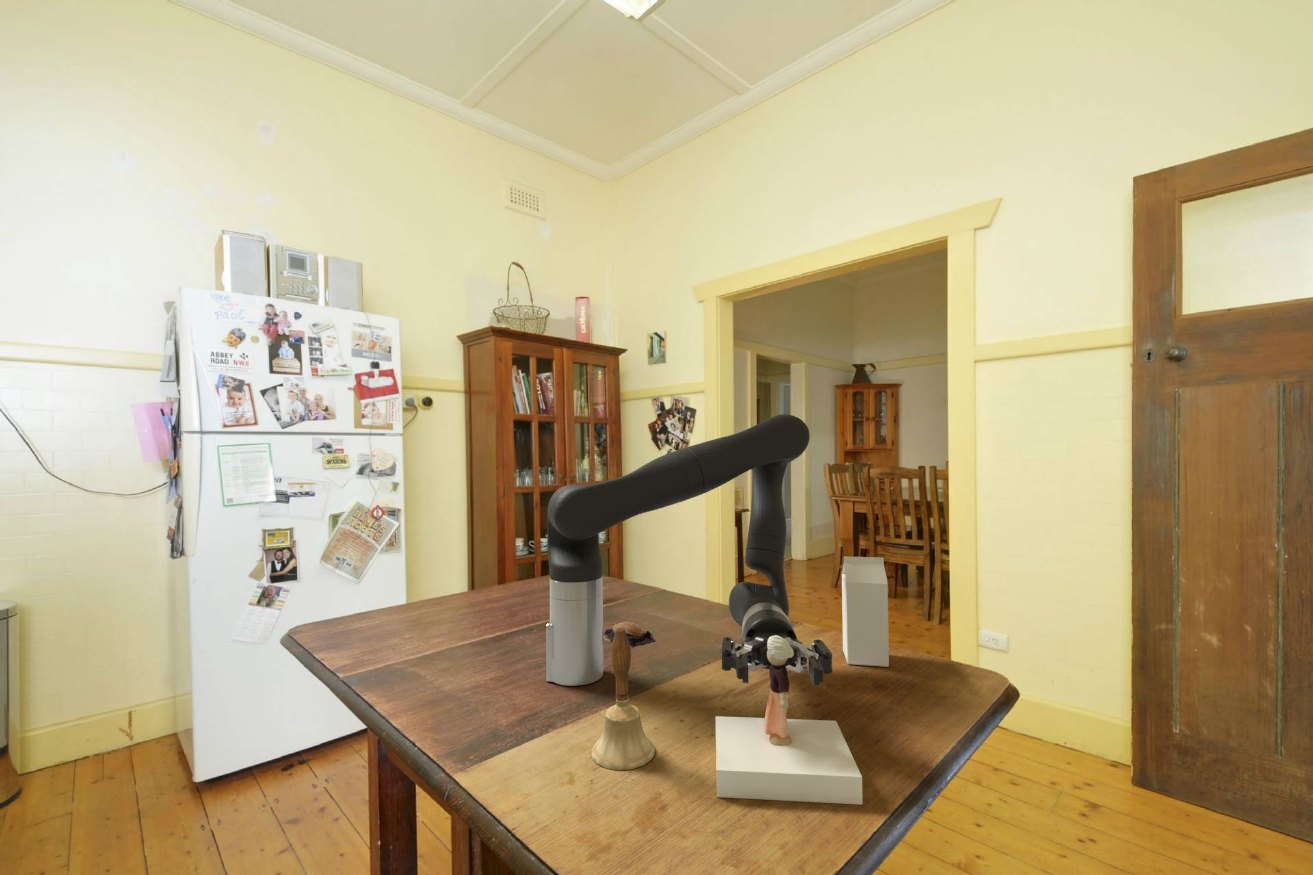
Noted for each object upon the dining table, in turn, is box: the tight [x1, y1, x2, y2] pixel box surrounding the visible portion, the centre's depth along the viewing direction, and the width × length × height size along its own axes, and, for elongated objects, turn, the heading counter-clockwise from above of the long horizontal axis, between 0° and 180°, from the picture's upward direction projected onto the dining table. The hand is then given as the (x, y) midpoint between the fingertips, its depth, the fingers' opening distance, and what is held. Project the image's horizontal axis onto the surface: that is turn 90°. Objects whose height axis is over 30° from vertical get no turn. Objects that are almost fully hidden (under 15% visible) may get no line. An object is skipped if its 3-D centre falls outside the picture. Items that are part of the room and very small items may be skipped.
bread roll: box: [603, 620, 655, 649], centre depth 118 cm, size 11×8×4 cm
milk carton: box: [841, 555, 890, 668], centre depth 105 cm, size 7×7×19 cm
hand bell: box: [590, 628, 656, 771], centre depth 73 cm, size 8×8×16 cm
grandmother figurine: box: [764, 635, 794, 745], centre depth 71 cm, size 8×4×13 cm, turn 6°
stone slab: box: [715, 715, 864, 805], centre depth 69 cm, size 16×13×3 cm
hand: (781, 676), depth 69 cm, fingers open, 8 cm apart
